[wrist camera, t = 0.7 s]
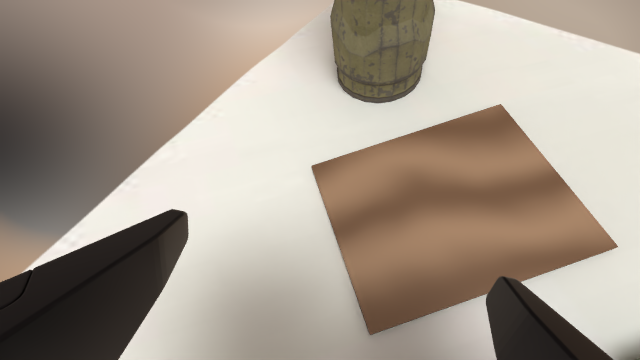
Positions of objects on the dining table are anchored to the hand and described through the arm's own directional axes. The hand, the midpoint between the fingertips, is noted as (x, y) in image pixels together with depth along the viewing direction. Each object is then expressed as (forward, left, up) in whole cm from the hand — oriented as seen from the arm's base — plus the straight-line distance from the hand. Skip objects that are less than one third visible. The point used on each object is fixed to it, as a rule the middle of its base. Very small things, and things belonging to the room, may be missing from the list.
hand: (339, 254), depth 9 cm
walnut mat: (+6, -10, -15) cm, 19 cm away
